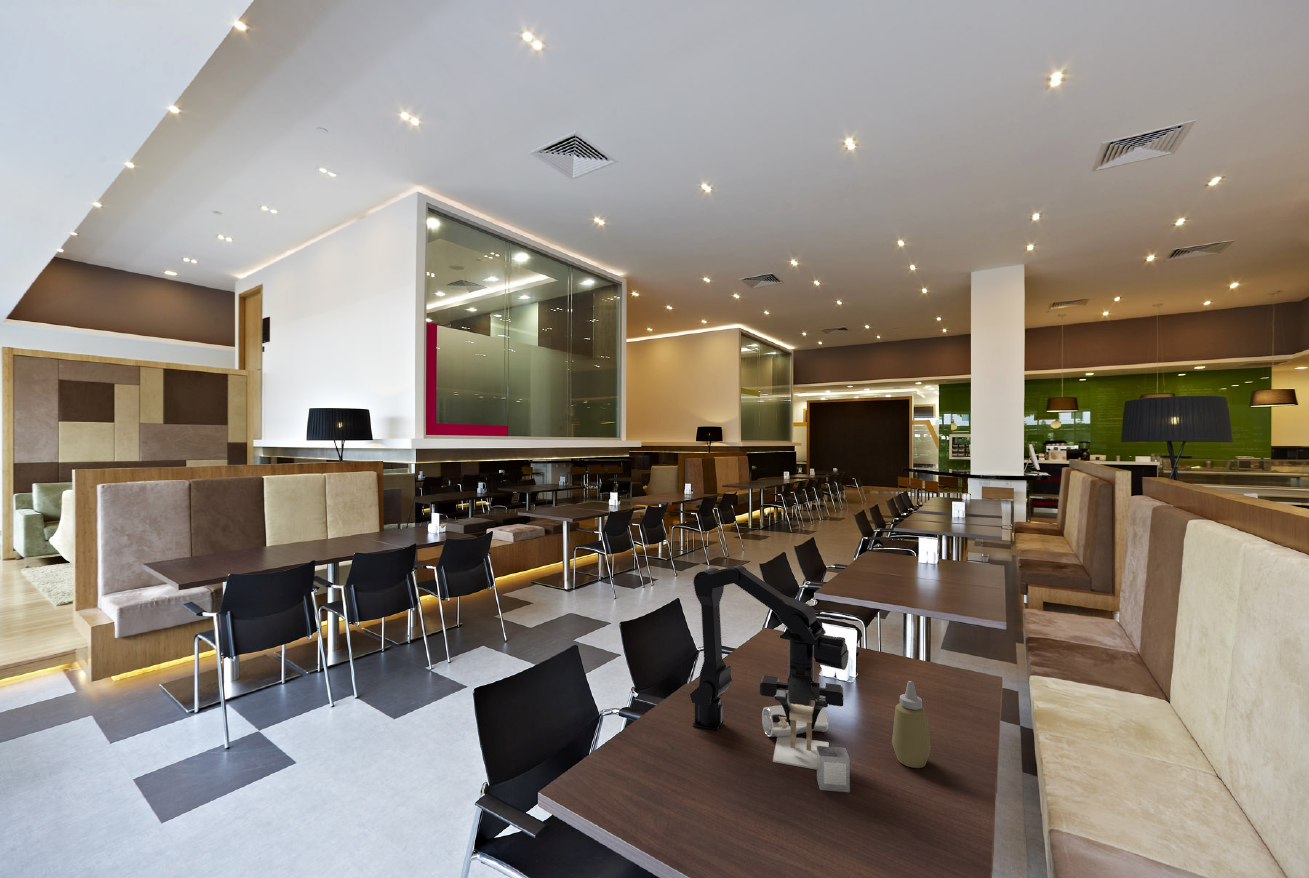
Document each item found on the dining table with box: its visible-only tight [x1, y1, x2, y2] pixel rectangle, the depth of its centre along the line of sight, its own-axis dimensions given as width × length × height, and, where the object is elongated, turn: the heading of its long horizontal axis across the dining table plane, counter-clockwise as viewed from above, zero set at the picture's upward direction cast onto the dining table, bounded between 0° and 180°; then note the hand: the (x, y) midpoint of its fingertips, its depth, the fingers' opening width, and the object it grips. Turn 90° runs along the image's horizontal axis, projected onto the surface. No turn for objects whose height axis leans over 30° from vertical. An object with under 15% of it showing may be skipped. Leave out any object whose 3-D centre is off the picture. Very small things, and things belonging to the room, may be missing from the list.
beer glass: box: [761, 704, 829, 738], centre depth 138 cm, size 7×7×15 cm
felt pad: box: [772, 736, 830, 770], centre depth 129 cm, size 12×12×1 cm
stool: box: [790, 703, 814, 751], centre depth 129 cm, size 5×5×8 cm
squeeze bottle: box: [891, 680, 932, 769], centre depth 126 cm, size 8×8×18 cm
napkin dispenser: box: [816, 746, 851, 793], centre depth 116 cm, size 6×4×7 cm
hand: (801, 726), depth 129 cm, fingers closed on stool, 5 cm apart
